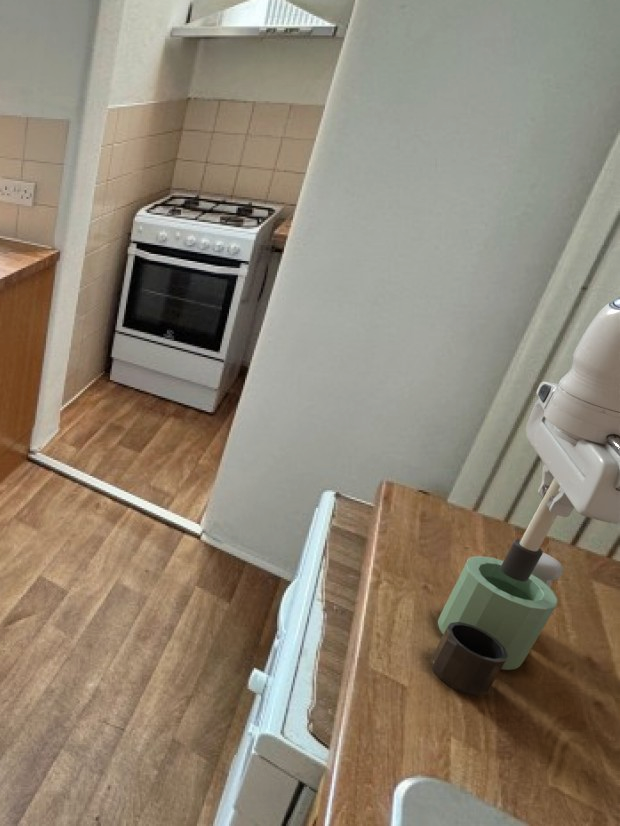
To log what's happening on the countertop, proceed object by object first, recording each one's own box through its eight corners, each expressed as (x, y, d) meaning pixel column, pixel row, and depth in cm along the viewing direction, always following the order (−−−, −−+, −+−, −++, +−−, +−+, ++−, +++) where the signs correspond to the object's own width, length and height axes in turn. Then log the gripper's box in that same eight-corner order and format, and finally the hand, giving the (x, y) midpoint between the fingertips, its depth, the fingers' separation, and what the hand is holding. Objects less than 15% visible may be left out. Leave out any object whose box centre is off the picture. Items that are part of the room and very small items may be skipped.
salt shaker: (482, 621, 93) (516, 557, 88) (483, 599, 97) (516, 537, 92) (536, 645, 89) (574, 580, 84) (535, 622, 93) (572, 558, 88)
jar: (510, 632, 91) (543, 573, 87) (531, 681, 84) (568, 620, 79) (431, 604, 96) (459, 547, 91) (445, 649, 88) (476, 589, 84)
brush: (524, 571, 85) (577, 474, 79) (531, 584, 83) (586, 486, 77) (497, 562, 87) (547, 467, 80) (503, 576, 84) (555, 478, 78)
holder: (480, 669, 86) (499, 634, 83) (493, 706, 81) (514, 670, 78) (426, 648, 89) (443, 614, 86) (435, 683, 84) (453, 647, 81)
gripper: (682, 471, 65) (622, 567, 70) (600, 389, 81) (556, 472, 87) (599, 452, 68) (547, 545, 73) (535, 377, 85) (496, 457, 90)
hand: (551, 505), depth 80 cm, fingers closed on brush, 2 cm apart
